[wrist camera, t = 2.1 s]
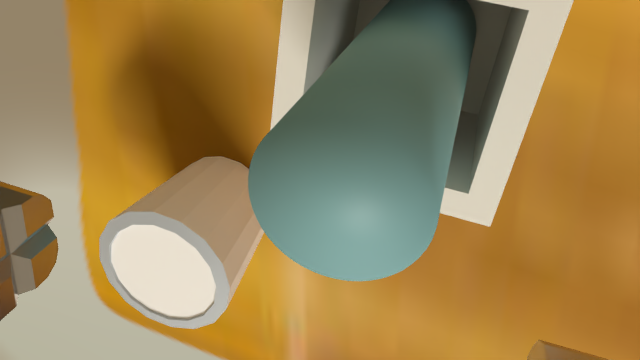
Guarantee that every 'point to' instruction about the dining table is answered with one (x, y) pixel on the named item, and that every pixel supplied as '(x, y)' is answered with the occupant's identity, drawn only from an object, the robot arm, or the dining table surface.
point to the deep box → (480, 92)
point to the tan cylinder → (184, 244)
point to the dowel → (369, 146)
